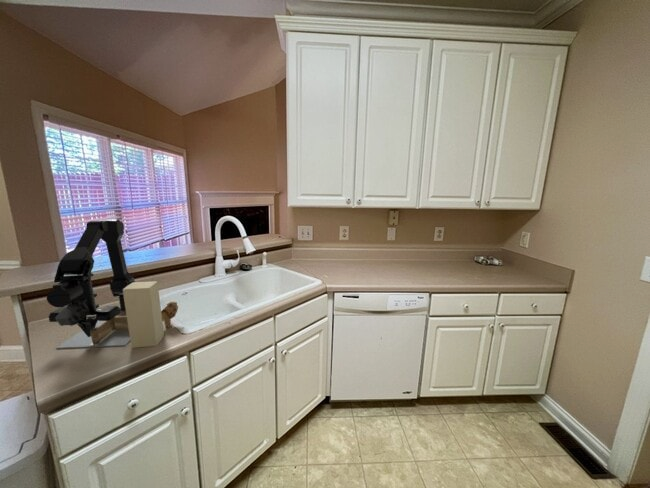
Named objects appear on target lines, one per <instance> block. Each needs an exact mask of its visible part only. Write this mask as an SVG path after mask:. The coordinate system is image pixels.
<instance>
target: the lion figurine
mask: <svg viewBox="0 0 650 488" xmlns="http://www.w3.org/2000/svg"><path fill="white" fill-rule="evenodd" d="M178 309H179V306H178V302H177V301H170V302H168V303H167V304H166V306H164V308H163V309H161V314H162V322H164V325H165V326H167V327H168V328H172V327H173V325H172V324H171V322H172V321H171V319H174V318H175V317H176V314H177V313H178Z"/></svg>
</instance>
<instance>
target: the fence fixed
mask: <svg viewBox="0 0 650 488" xmlns="http://www.w3.org/2000/svg"><path fill="white" fill-rule="evenodd" d="M110 321H111V326H112V331H113V330H129V328H128V322H127V315H117V316H115V317H114V318H113V319H111V320H110Z"/></svg>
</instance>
